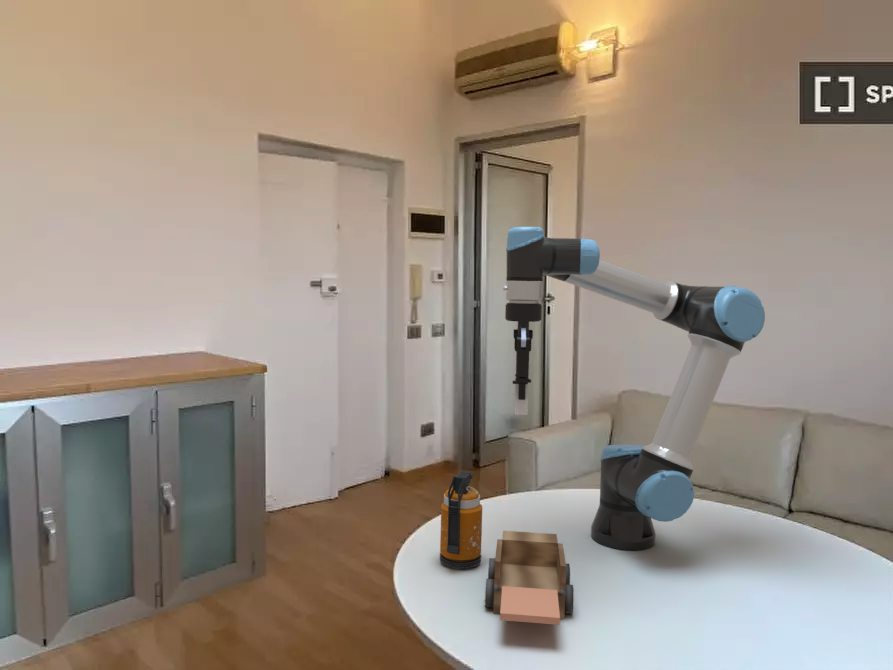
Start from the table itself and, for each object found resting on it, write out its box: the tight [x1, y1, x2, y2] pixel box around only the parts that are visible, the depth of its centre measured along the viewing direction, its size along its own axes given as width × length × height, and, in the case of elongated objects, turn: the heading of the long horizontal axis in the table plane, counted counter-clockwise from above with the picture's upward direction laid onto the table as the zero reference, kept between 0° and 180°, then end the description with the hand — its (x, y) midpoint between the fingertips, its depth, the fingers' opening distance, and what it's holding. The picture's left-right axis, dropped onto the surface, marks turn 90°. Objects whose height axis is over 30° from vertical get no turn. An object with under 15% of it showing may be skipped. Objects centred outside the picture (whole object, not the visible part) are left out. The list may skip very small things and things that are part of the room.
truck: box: [484, 530, 575, 620], centre depth 132 cm, size 16×17×10 cm
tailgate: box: [499, 586, 561, 626], centre depth 118 cm, size 10×2×10 cm
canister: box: [439, 470, 483, 570], centre depth 146 cm, size 9×11×20 cm
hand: (521, 414), depth 142 cm, fingers closed
